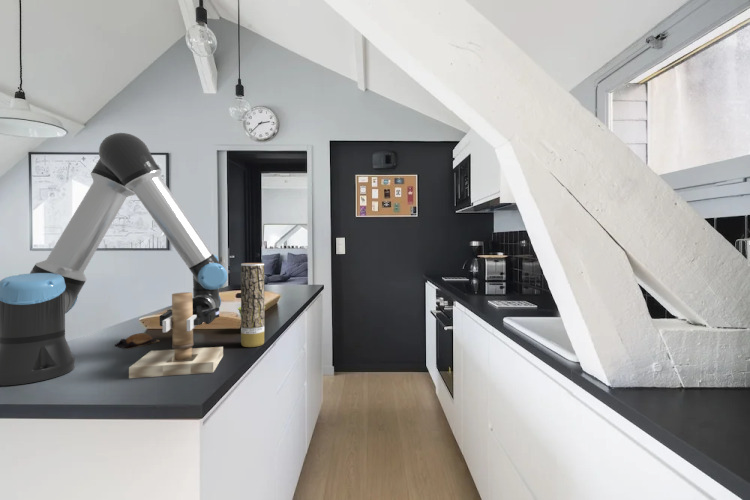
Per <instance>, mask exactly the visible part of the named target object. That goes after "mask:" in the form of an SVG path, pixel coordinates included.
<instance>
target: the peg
mask: <svg viewBox="0 0 750 500" xmlns="http://www.w3.org/2000/svg"><path fill="white" fill-rule="evenodd" d="M192 298H193V292H174V293H172V294H171V310H172V329H171V330H172V344H171V347H172V349H173V350H174V355H175V360H187V359H190V358H191V357H192V349H193V346H194V345H195V342H194V328H193V329H192V330H191V331H187V319H189V318H190V317H191V316H193V300H192Z"/></svg>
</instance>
